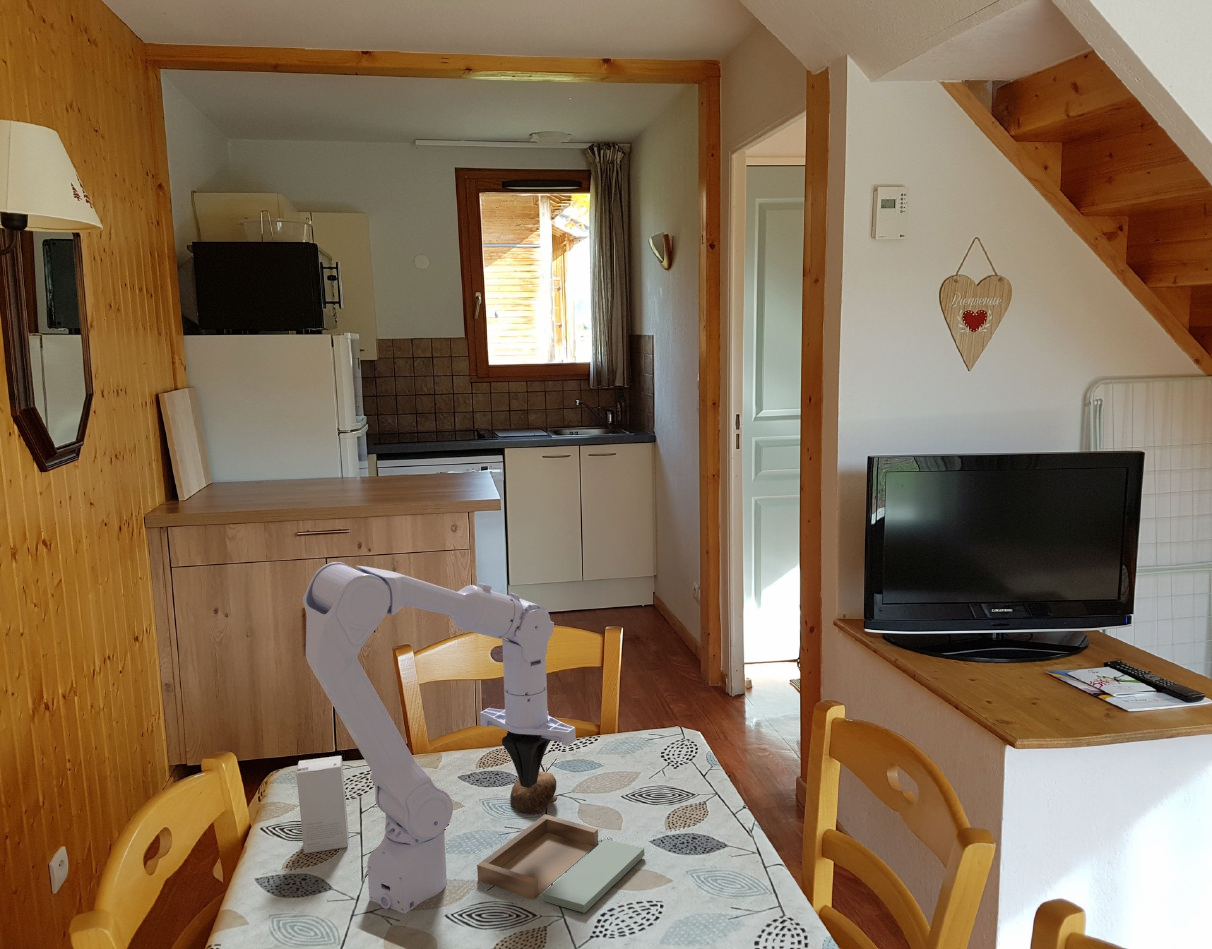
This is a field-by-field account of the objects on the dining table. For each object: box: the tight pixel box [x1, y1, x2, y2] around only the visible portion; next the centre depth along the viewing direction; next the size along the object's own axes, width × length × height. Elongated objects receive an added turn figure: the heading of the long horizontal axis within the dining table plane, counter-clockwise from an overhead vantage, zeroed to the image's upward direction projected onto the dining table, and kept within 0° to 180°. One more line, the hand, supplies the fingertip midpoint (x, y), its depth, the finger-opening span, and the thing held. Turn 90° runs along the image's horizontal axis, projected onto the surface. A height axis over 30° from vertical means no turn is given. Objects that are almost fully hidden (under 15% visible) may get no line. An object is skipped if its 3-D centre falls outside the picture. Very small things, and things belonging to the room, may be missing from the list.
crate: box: [476, 814, 599, 900], centre depth 124 cm, size 9×15×4 cm, turn 149°
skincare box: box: [295, 755, 350, 854], centre depth 132 cm, size 6×4×12 cm
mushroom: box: [510, 771, 558, 815], centre depth 140 cm, size 8×8×6 cm
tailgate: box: [542, 838, 645, 914], centre depth 119 cm, size 1×15×6 cm
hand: (528, 784), depth 129 cm, fingers closed
